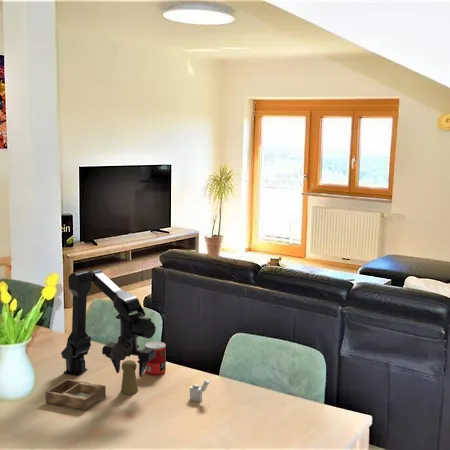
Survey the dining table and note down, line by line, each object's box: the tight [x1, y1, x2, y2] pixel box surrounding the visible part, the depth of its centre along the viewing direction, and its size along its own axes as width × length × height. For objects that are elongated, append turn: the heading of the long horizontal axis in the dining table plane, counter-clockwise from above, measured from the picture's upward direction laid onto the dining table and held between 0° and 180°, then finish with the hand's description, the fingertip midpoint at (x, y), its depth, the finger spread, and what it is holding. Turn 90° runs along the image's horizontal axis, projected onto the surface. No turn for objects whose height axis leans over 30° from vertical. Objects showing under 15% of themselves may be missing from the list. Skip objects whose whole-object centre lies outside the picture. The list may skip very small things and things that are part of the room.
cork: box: [120, 359, 139, 396], centre depth 217 cm, size 6×6×11 cm
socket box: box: [44, 378, 107, 412], centre depth 210 cm, size 16×12×4 cm
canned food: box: [144, 340, 167, 377], centre depth 234 cm, size 8×8×11 cm
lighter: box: [189, 378, 211, 402], centre depth 210 cm, size 7×2×8 cm, turn 65°
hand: (129, 374), depth 217 cm, fingers open, 9 cm apart
